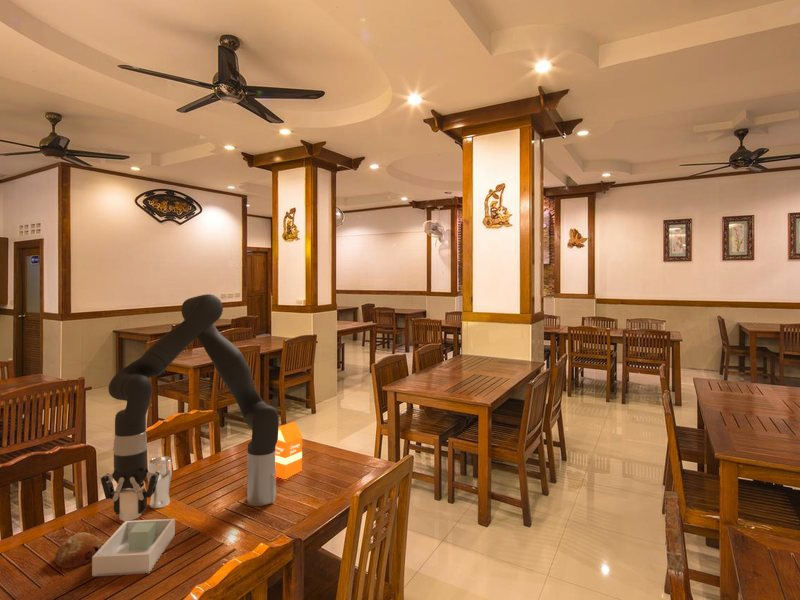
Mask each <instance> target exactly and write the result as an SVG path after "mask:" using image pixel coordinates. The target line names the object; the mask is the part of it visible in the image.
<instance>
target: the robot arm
mask: <svg viewBox="0 0 800 600" xmlns="http://www.w3.org/2000/svg"><path fill="white" fill-rule="evenodd" d="M223 307H224V306H223V303H222V301H221V300H220V298H219V297H218V296H216V295H214V294H201V295H197V296H193V297H190V298H187V299H186V300H183V303H182V304H181V315H182V317H183V321H182V322H180V323H179V324H177V326H175V327H174V328H172V330H169V332H167V333H165V334H164V335H162V337H160V338H159V339H157V340H156V341H155V342H154V343H153V344H152V345H151V346H150V347H149V348H148V349H147V350H146V351H145V352H144V353H143V354H142V355H141V356H140V357H139V358H138V359H136V360H134V361H132V362H131V363H129V364H128V365H127V366H125V367H124V368H122V369H121V370H120V371H118V372H117V373H116V374H115V375H114V376H113V377H112V379H111V380H110V382H109V384H108V393H109V396H111V397H112V398H113V399H116V400H117V401H125V402H126V406H125V408H124V409H121V410H120V411H117V413H116V414H115V416H114V417H115V418H114V439H113V449H112V450H113V472H112V473H106V474H104V475H103V476H102V477H100V482H101V485H102V490H103V493H104V498H105V499H106V500H110V499H111V500H112V501H113V511H114V513H115V514H116V515H117V516H118V515H119V494H120V492H121V491H122V490H123V489H126V488H132V489H133V488H134V490H135V492H136V493H137V495H138V497H139V500H138V513H139V514H141V515H142V514H143V513H144V512H145V510H147V507H148V498H151V496H152V494H153V493H154V492H155V489H156V485H157V481H158V477H159V472H155V473H151V472H148V468H147V465H148V464H147V463H148V457H147V456H148V453H147V452H148V446H147V445H148V442H147V441H148V438H147V420H146V419H147V413H148V410H149V406H150V402H151V398H152V396H153V385H152V381H151V379H150V378H153V377H158V376H160V375H161V374H163V372H165V370H166V369H167V368H168V367H169V366H170V365H171V363H173V362H174V361H175V360H176V358H177V357H178V356H179V355H180V354H181V353H182V352H183V351H184V350H185V348H187V347H188V346H189V345H190V344H191V343H192V342H193V341H194V340H195V339H196V338H197V339H198V341H199V343H200V344H201V346H202V347H203V348H204V350H205V352H206V355H207V356H208V357H209V358H210V360H211V362H212V363H213V367H214V368H215V370H216V371H217V373H218V375H219V376H220V379H222V381H223V383H224V384H225V386H226V388H227V389H228V390H229V392H230V393H231V395H232V397H234V399H235V401H236V403H237V404H238V407H239V409H240V412H241V415H242V417H243V419H244V422H245V423H246V425H247V426H248V427H249V428H250V429H251V440H250V441H249V442H248V444H247V465H246V467H247V469H246V471H247V475H246V479H247V480H246V481H247V482H246V483H247V484H246V485H247V486H246V491H247V493H246V497H247V498H246V503H247V504H248V505H250V506H253V507H261V506H262V507H263V506H267V505H269V504H274V503H275V500H276V497H277V477H276V469H275V456H276V444H277V441H278V428H279V426H280V420H279V418H280V417H279V414H278V411H277V409H276V408H274V407H273V406H272V405H270V404H267V403H266V402H265V401H264V400H263V399H262V397H261V395H260V394H259V393H258V391H257V389H256V387H255V385H254V381H253V375H252V371H251V369H250V366H249V363H248V362H247V360H246V358H245V356H244V354H243V353H242V352H241V350H240V349H239V348H238V347H237V346H236V345H235V344H234V343H232V342H231V341H230V340H229V339H227V338H226V337H225V336H224V335H223V334H222V333H220V331H219V330H218V329H217V327H216V325H215V323H216V322H218V320H219V319H220V318H221V317H222V315H223V311H224V308H223ZM146 478H147V482H148V487H147V486H146V482H145V479H146ZM113 481H115V482H116V484H117V485H116V488H115V487H114V483H113ZM149 482H150V483H149Z"/></svg>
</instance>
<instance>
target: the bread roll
mask: <svg viewBox="0 0 800 600" xmlns="http://www.w3.org/2000/svg"><path fill="white" fill-rule="evenodd" d="M104 544H105V543H104V542H103V541H102V540H101V539H100V538H99V537H97V536H96V535H94V534H92V533H89V532H86V531H85V532H84V531H83V532H78V533H75V534H74V535H71V536H70V537H67V539H66V540H64V541H63V542H62V543H61V544H60V546H59V547H58V548H57V551H56V553H55V556H54V562H55V563H56V565H57V566H58V567H60V568H64V569H68V568H69V569H70V568H74V567H80V566H84V565H87V564H88V563H92V557H93V556H94V555H95V553H96V552H97V551H98V550H99V549H100V548H101V547H102V546H103V545H104Z"/></svg>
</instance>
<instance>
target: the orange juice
mask: <svg viewBox="0 0 800 600" xmlns="http://www.w3.org/2000/svg"><path fill="white" fill-rule="evenodd" d="M302 460H303V436H302V434H301V432H300V429H299V427H298V425H297V422H296V421H292V422H289V423H285V424H282V425H279V428H278V441H277V444H276V456H275V469H276V478H277V477H279V478H282V479H287V478H289V477H290V476H292V475H294V474H296V473H298V472H300V471H303V465H302V464H303V461H302ZM279 478H278V479H279ZM282 479H281V480H282ZM287 480H288V479H287Z"/></svg>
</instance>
